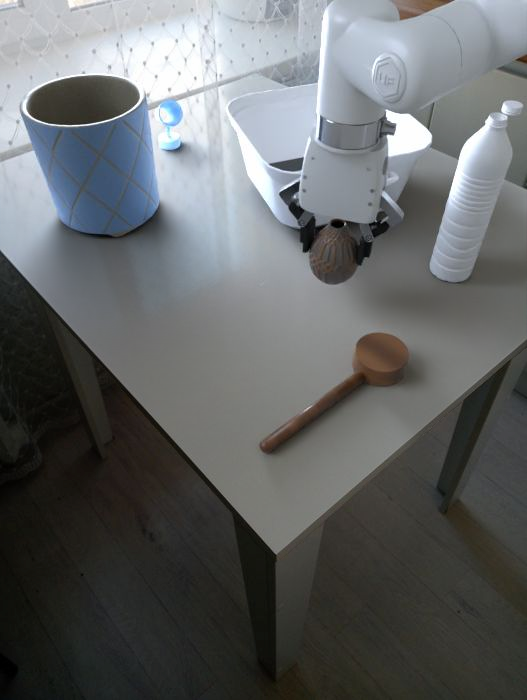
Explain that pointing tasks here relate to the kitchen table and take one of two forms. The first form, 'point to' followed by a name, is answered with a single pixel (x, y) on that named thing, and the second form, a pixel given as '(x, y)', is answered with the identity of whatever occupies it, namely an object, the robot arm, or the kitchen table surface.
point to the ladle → (352, 380)
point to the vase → (334, 253)
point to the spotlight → (169, 124)
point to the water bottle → (473, 197)
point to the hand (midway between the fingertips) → (334, 252)
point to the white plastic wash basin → (291, 141)
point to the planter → (94, 151)
